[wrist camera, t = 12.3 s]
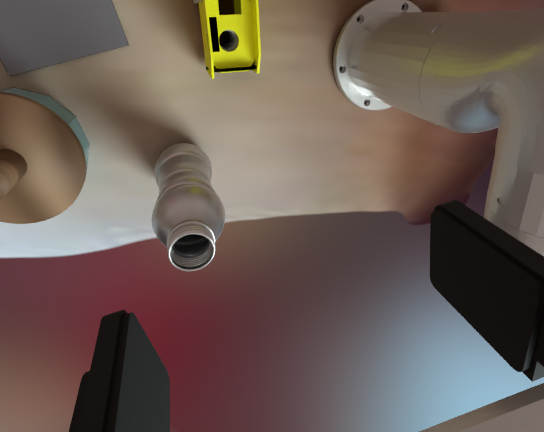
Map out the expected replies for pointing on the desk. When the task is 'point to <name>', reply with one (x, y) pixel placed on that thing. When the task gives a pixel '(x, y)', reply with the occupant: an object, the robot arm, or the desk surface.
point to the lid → (36, 161)
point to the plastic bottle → (187, 207)
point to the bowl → (60, 111)
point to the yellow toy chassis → (231, 37)
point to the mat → (55, 31)
